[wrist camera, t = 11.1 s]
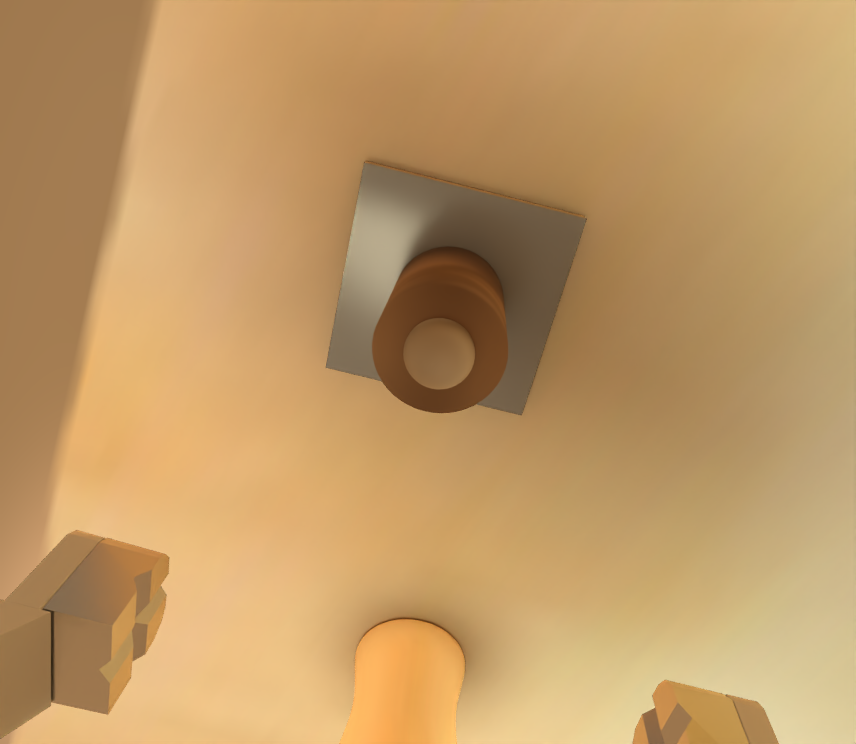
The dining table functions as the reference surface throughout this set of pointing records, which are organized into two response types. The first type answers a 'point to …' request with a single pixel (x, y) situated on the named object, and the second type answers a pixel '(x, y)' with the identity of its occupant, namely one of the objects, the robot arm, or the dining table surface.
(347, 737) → the beer glass
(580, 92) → the dining table surface
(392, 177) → the coaster
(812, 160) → the dining table surface
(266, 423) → the dining table surface
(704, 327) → the dining table surface
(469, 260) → the pepper mill
